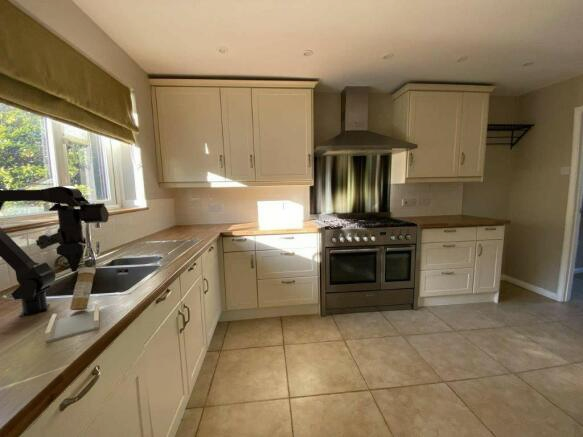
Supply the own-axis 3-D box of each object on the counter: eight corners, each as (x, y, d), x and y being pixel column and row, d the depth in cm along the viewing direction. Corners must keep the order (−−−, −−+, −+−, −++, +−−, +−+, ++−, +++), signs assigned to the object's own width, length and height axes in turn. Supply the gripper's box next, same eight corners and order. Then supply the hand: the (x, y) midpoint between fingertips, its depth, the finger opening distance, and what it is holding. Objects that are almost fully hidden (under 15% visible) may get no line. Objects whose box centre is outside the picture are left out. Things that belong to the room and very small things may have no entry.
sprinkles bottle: (82, 310, 83) (91, 271, 89) (90, 308, 82) (98, 268, 87) (66, 310, 80) (76, 269, 85) (73, 308, 78) (83, 266, 84)
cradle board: (53, 322, 75) (52, 314, 75) (99, 311, 81) (98, 304, 81) (45, 342, 65) (44, 333, 64) (99, 328, 71) (98, 319, 71)
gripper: (42, 223, 86) (47, 267, 88) (29, 229, 71) (36, 281, 73) (84, 220, 93) (88, 261, 94) (80, 225, 78) (85, 274, 79)
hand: (75, 269), depth 85 cm, fingers open, 7 cm apart
